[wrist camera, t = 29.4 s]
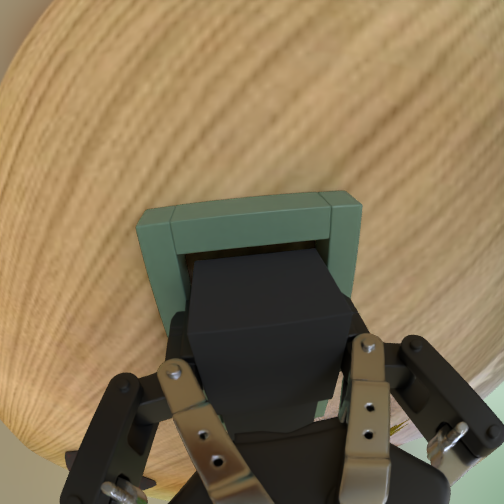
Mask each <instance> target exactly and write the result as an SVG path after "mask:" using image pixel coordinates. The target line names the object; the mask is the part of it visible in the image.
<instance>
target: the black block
mask: <svg viewBox="0 0 504 504" xmlns="http://www.w3.org/2000/svg"><path fill="white" fill-rule="evenodd" d="M352 314H353V312H352V310H351V308H350V307H349V305H348V303H347V301H346V299H345V298H344V296H343V294H342V292H341V291H340V289H339V287H338V285H337V284H336V282H335V280H334V279H333V277H332V275H331V273H330V272H329V270H328V268H327V267H326V265H325V263H324V262H323V260H322V258H321V257H320V255H319V253H318V252H317V250H316V249H315V248H312V249H303V250H293V251H284V252H275V253H265V254H256V255H247V256H237V257H228V258H218V259H209V260H199V261H195V262H194V269H193V277H192V286H191V295H190V304H189V314H188V325H187V337H188V340H189V343H190V347H191V350H192V353H193V356H194V360H195V363H196V366H197V369H198V372H199V375H200V378H201V381H202V384H203V387H204V390H205V393H206V396H207V399H208V401H209V402H210V403H211V405H212V407H213V408H214V410H215V412H216V414H217V415H227V414H238V413H248V412H257V411H265V410H272V409H279V408H286V407H292V406H298V405H303V404H309V403H314V402H319V401H324V400H328V399H332V397H333V394H334V390H335V387H336V383H337V379H338V375H339V372H340V368H341V364H342V360H343V355H344V351H345V347H346V343H347V338H348V334H349V329H350V324H351V319H352Z"/></svg>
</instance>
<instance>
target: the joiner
mask: <svg viewBox="0 0 504 504" xmlns="http://www.w3.org/2000/svg"><path fill="white" fill-rule="evenodd" d="M361 217H362V204H361V203H360V202H359V201H357V200H356V199H355V198H354V197H352V196H351V195H350V194H349V193H347V192H346V191H329V192H318V193H317V192H307V193H293V194H280V195H268V196H256V197H245V198H235V199H225V200H216V201H207V202H198V203H190V204H182V205H176V206H169V207H161V208H154V209H147V210H145V212H144V213H143V215H142V217H141V218H140V220H139V222H138V223H137V225H136V232H137V236H138V240H139V244H140V248H141V252H142V255H143V259H144V263H145V266H146V270H147V274H148V277H149V281H150V284H151V287H152V291H153V294H154V297H155V300H156V304H157V307H158V310H159V313H160V316H161V319H162V322H163V325H164V328H165V331H166V334H167V337H168V336H169V330H170V323H171V319H172V317H173V316H174V315H175V313H176V312H180V311H185V305H186V300H190V295H191V282H190V278H189V273H188V268H187V263H186V258H185V254H187V253H197V252H206V251H215V250H224V249H234V248H243V247H253V246H262V245H272V244H281V243H291V242H301V241H310V240H316V244H315V249H316V250H317V252H318V253H319V255H320V257H321V258H322V260H323V262H324V263H325V265H326V267H327V268H328V270H329V272H330V273H331V275H332V277H333V279H334V280H335V282H336V284H337V285H338V287H339V289H340V291H341V292H342V293H344V294H345V295H346V296H348V297H349V298H350V299H351V293H352V287H353V281H354V274H355V267H356V260H357V252H358V244H359V236H360V227H361ZM203 393H204V395H205V396H206V393H205V390H203ZM206 398H207V396H206ZM207 400H208V399H207ZM327 403H328V400H324V401H319V402H318V404H317V409H316V413H315V418H317V417H321V416H324V413H325V410H326V406H327ZM217 416H218V417H219V419H220V421H221V423H222V424H223V426H224V428H225V429H226V426H225V423H224V420H223V417H222V415H217ZM226 431H227V429H226Z"/></svg>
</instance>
